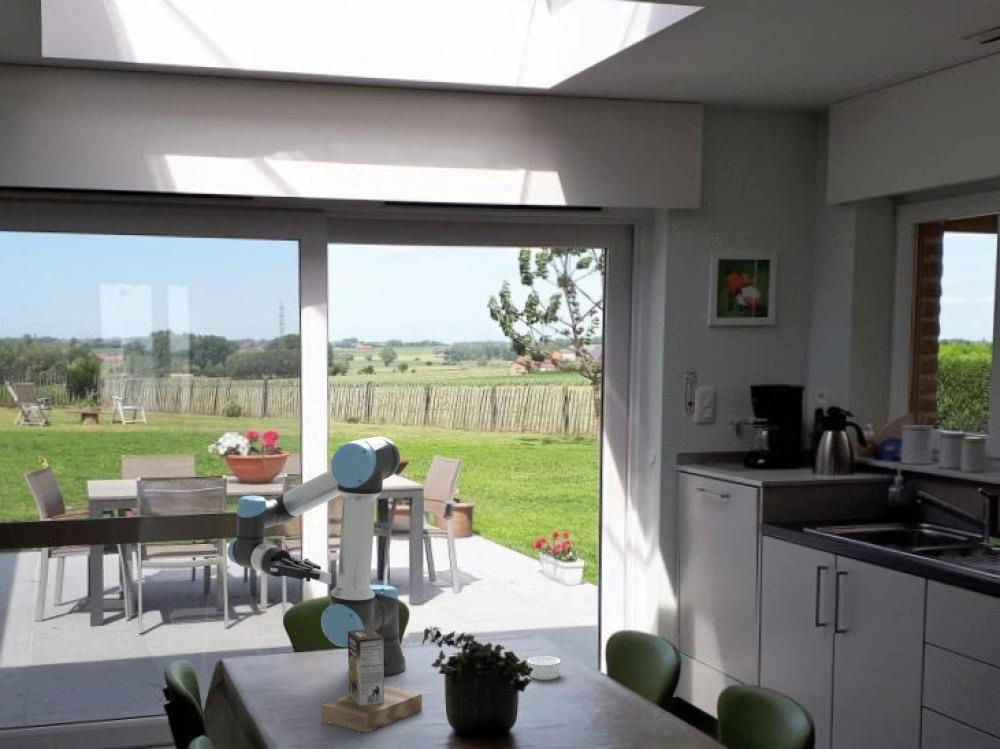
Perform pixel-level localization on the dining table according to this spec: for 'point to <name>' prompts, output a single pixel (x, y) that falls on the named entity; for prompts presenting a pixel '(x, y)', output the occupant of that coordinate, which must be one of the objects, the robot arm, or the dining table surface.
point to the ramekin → (544, 667)
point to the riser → (372, 710)
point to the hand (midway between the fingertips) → (329, 578)
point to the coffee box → (366, 667)
